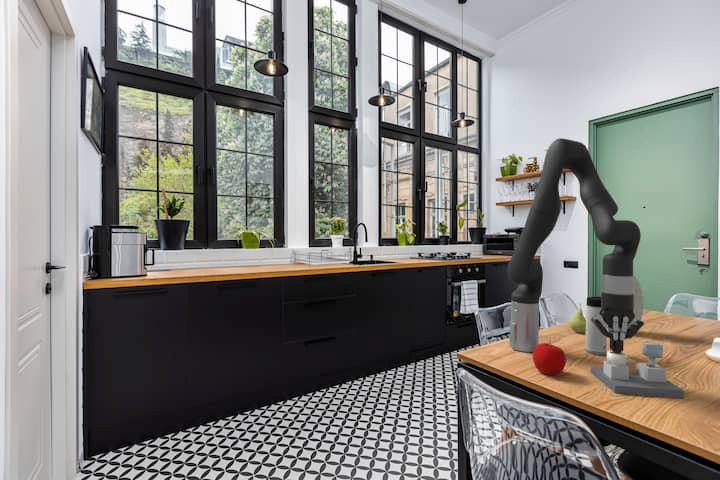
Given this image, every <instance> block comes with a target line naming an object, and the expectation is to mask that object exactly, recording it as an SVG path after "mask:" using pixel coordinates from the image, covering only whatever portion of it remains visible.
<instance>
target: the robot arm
mask: <svg viewBox="0 0 720 480" xmlns="http://www.w3.org/2000/svg"><path fill="white" fill-rule="evenodd" d="M564 170H569V171H570V172H571V173H572V174H573V175H574V176H575V177H576V179H577V181H578V183H579V196H580V200H581V202H582V204H583V205H584V207H585V209H586V211H587V212H588V214H589V215H590V218H591V223H592V226H593V227H592V228H593V230H594V235H595V237H596V238H597V239H598V240H599V242H600V243H602V244H603V245H605V246H606V245H607V246H614V247H613V250H612V252H610V253H608V254H605V255H604V256H603V258H602V277H601V283H600V284H601V285H600V290H601V291H600V297H601V311H600V313H599V314H600V315H599V316H597V317H596V318H591V321H592V322H593V323H594V325H595V326H596V327H597V328H598V330H599V331H600V332H601V333H602V334H603V335H604V336H606V337H607V339H609V349H610V350H609V351H612V352H614V353H619V354H621V352H622V353H624V344H625V343H624V341H625V340H627V339H628V340H630V339H632V338H633V337H634V336H635V335H636V334H637V333H638V332H639V330H640V329H641V328H642V327H643V326H644V325H645V322H644V321H642V320H641V321H640V320H638V319H637V318H636V317H635V314H634V312H633V309H634V280H633V274H634V261H635V258H636V255H637V252H638V248H639V245H640V242H641V236H642V235H641V229H640V227H639V226H638V224H637V223H636V222H634V221H632V220H626V219H623V220H622V219H621V220H619V219H615V218H614V216H615V215H616V214H617V213H618V211H619V206H618V204H617V203H616V201H615V200H614V198H613V196H612V195H611V194H610V193H609V191H608V190H607V188H606V187H605V185H604V183H603V181H602V179H601V178H600V176H599V174H598V171H597V168H596V166H595V164H594V161H593V159H592V156H591V154H590V152H589V150H588V148H587V146H586V145H585V143H583V142H581V141H576V140H571V139H567V138H557V139H555V140H553V141H552V142H551V143H550V145H549V147H548V148H547V150H546V153H545V157H544V161H543V164H542V171H541V173H540V174H541V175H540V178H539V182H538V185H537V189H536V191H535V194H534V197H533V200H532V203H531V206H530V209H529V212H528V214H527V217H526V221H525V224H524V227H523V229H522V232H521V235H520V238H519V240H518V243H517V246H516V248H515V250H514V252H513V254H512V256H511V258H510V259H509V262H508V265H507V276H508V278H509V281H511V283H514V284H518V285H517V288H516V289H515V290H514V291H513V292H512V293H511V309H510V311H511V313H510V315H511V317H510V318H511V319H510V320H509V346H510V348H511V349H512V350H513V351H520V352H525V353H533V351H534V349H535V347H536V346H537V345H539V344H540V343H539V342H540V341H539V339H540V335H539V333H540V329H539V328H540V325H539V324H540V298H541V296H542V291H543V278H544V270H543V267H542V263H541V262H540V260H538V259H536V258H535V256H536V254H537V252H538V250H539V248H540V247H541V246H542V245H543V243H544V242H545V241H546V240H547V239H548V238H549V236H550V235H551V234H552V232H553V231H554V229H555V227H556V224H557V222H558V219H559V217H560V214H561V209H562V203H561V197H560V196H561V195H560V191H559V188H560V180H561V176H562V173H563V171H564ZM602 319H603V320H604V322H605V323H606V324H607V329H606V328H605V327H604V326H603V325H602V324H603V321H602ZM630 323H631V325H630V326H629V327H628V328H627V326H628V325H629V324H630Z"/></svg>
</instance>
